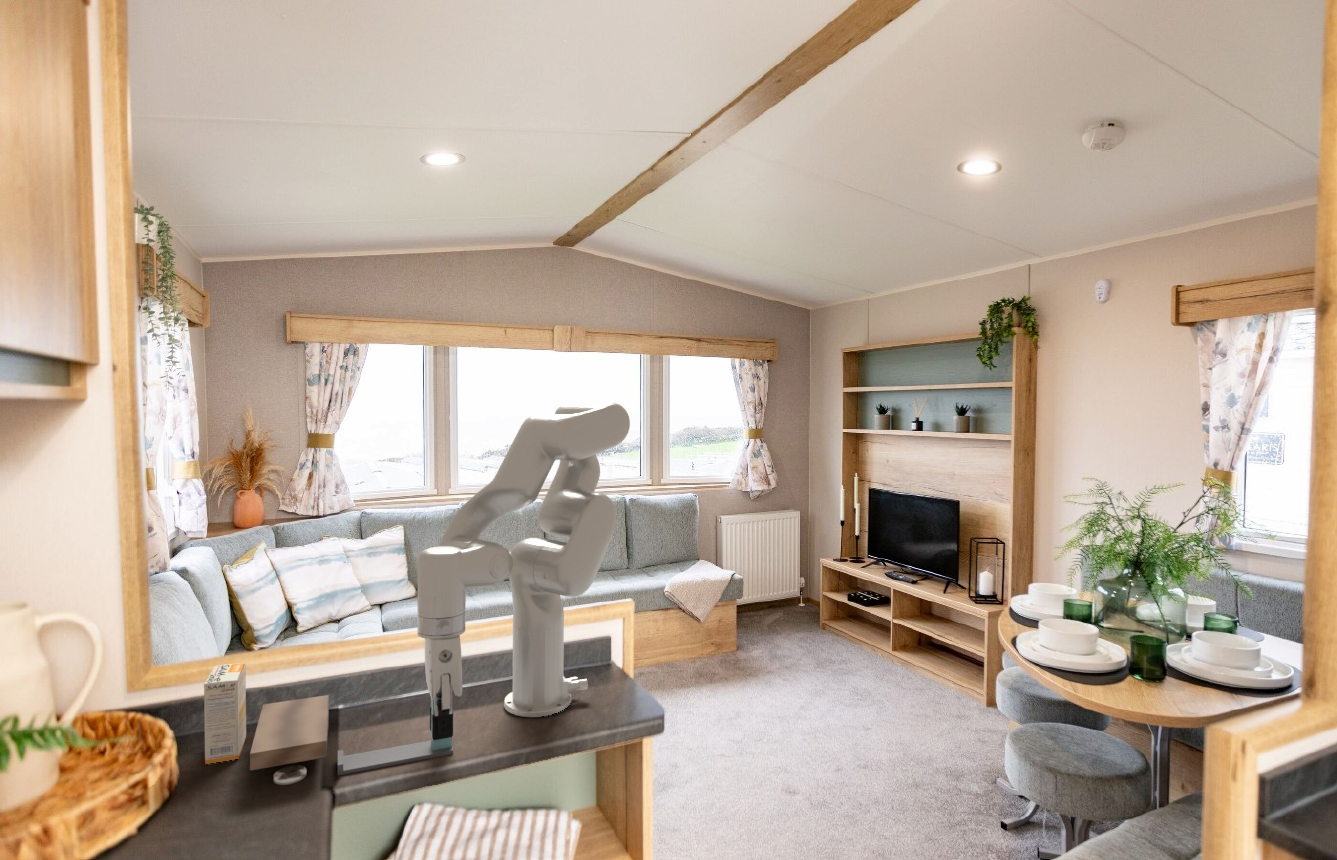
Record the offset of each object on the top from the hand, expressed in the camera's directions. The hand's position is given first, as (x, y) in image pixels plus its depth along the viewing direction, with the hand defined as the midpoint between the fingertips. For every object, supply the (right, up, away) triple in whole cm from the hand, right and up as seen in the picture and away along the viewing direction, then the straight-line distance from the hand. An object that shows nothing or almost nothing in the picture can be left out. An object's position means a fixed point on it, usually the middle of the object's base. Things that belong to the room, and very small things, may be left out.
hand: (441, 733), depth 116 cm
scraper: (-7, -3, -3) cm, 8 cm away
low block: (-23, -2, -3) cm, 23 cm away
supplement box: (-35, -3, -2) cm, 35 cm away
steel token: (-20, -3, -9) cm, 22 cm away
